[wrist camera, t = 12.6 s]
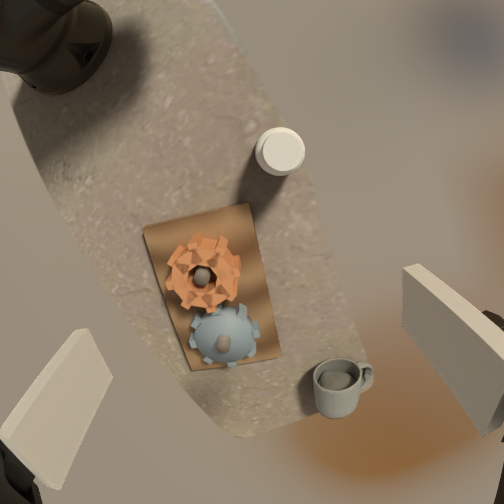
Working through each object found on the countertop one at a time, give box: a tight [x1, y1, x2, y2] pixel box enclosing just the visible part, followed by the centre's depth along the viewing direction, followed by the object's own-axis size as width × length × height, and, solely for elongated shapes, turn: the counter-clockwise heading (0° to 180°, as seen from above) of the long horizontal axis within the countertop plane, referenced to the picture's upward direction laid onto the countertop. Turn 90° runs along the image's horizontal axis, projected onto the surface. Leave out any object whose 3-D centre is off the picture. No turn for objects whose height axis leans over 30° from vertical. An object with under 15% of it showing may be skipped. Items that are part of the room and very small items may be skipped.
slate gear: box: [189, 303, 260, 367], centre depth 41 cm, size 10×10×2 cm
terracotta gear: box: [165, 233, 241, 313], centre depth 37 cm, size 9×9×4 cm
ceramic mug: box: [313, 358, 373, 419], centre depth 44 cm, size 11×8×8 cm
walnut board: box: [142, 202, 282, 371], centre depth 40 cm, size 23×14×6 cm, turn 12°
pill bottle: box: [254, 127, 305, 176], centre depth 33 cm, size 5×5×9 cm
